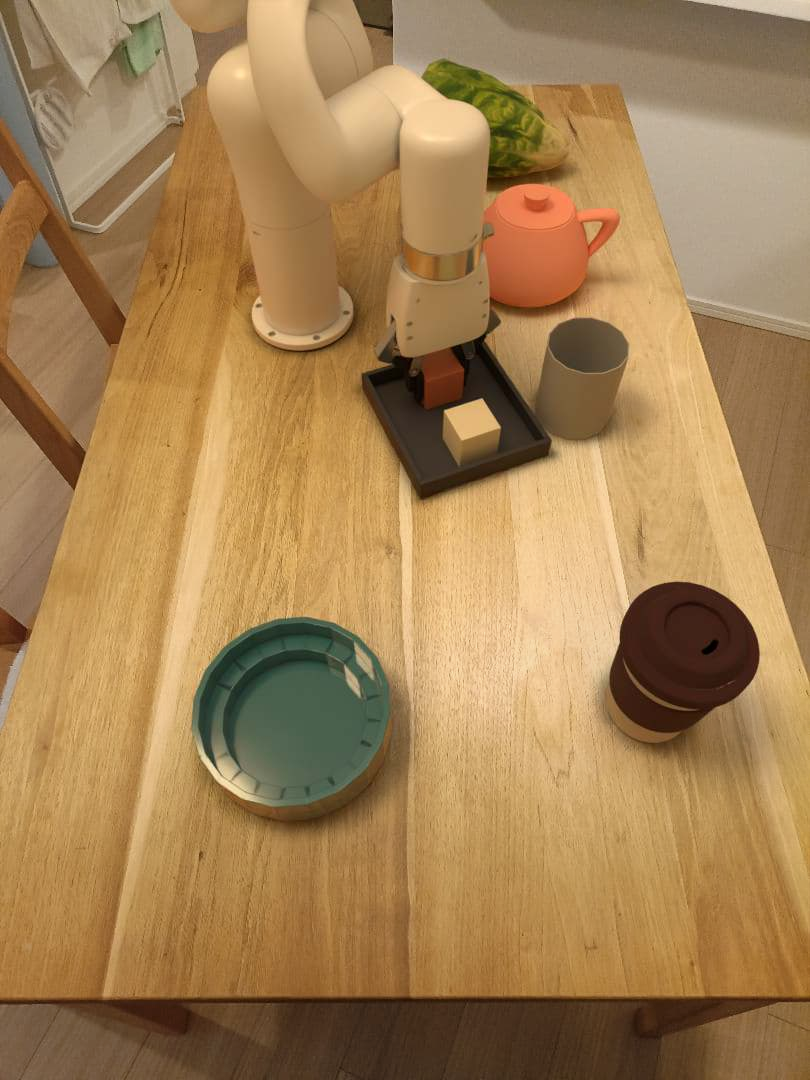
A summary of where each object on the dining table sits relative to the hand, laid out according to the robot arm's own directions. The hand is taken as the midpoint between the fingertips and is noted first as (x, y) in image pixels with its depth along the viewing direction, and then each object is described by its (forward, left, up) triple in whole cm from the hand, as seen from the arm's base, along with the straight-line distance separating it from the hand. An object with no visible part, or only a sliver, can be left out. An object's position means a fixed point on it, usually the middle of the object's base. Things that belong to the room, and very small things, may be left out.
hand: (436, 384), depth 87 cm
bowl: (+31, -27, -2) cm, 42 cm away
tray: (+4, 0, -2) cm, 5 cm away
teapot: (-15, +18, -2) cm, 23 cm away
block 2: (+9, 0, -1) cm, 9 cm away
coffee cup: (+41, +2, -2) cm, 42 cm away
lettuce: (-39, +25, -2) cm, 46 cm away
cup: (+8, +13, -2) cm, 16 cm away
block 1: (0, 0, -1) cm, 1 cm away
